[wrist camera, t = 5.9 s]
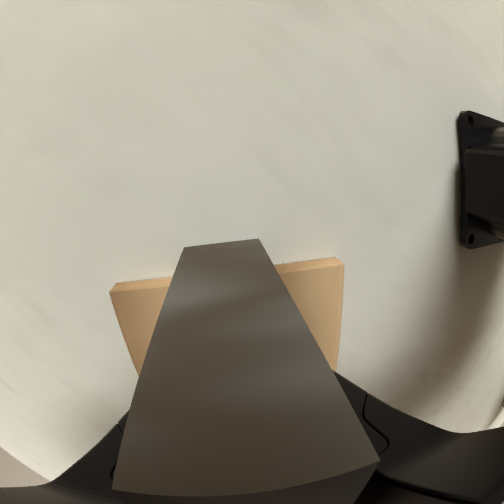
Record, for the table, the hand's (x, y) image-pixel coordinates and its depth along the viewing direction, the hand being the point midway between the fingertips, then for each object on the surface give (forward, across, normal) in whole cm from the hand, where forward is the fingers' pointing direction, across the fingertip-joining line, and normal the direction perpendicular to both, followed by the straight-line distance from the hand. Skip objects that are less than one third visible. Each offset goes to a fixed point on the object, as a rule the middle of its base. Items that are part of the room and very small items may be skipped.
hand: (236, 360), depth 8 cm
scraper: (+2, 0, +8) cm, 9 cm away
